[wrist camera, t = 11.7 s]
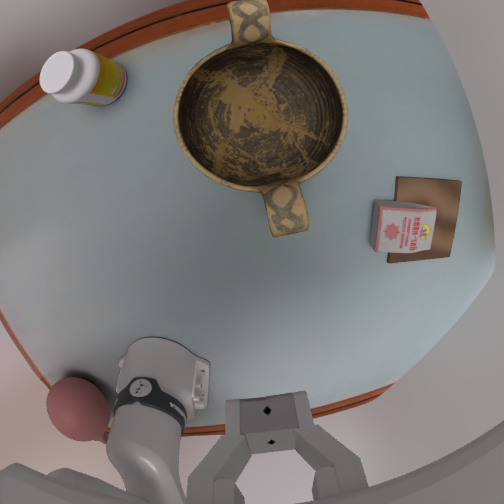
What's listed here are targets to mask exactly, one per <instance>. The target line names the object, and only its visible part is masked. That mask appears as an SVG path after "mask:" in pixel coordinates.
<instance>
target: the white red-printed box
mask: <svg viewBox="0 0 504 504" xmlns="http://www.w3.org/2000/svg"><path fill="white" fill-rule="evenodd" d="M436 213H437V208H436V207H430V206H425V205H421V204H416V203H411V202H400V201H387V200H374V207H373V218H372V227H371V236H370V243H371V245H372V247H373V249H374V251H375V252H391V253H414V252H418V251H423V250H430V247H431V242H432V237H433V231H434V226H435V220H436Z"/></svg>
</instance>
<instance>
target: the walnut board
mask: <svg viewBox="0 0 504 504" xmlns="http://www.w3.org/2000/svg"><path fill="white" fill-rule="evenodd" d="M461 185H462V182H461V181H457V180H446V179H433V178H418V177H399V176H396V183H395V197H394V201H400V202H411V203H416V204H421V205H425V206H430V207H436V208H437V213H436V220H435V226H434V231H433V237H432V242H431V247H430V250H423V251H418V252H414V253H391V252H388V257H387V262H388V263H397V262H407V261H417V260H426V259H435V258H444V257H450V253H451V248H452V243H453V238H454V233H455V228H456V222H457V216H458V209H459V202H460V194H461Z"/></svg>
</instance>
